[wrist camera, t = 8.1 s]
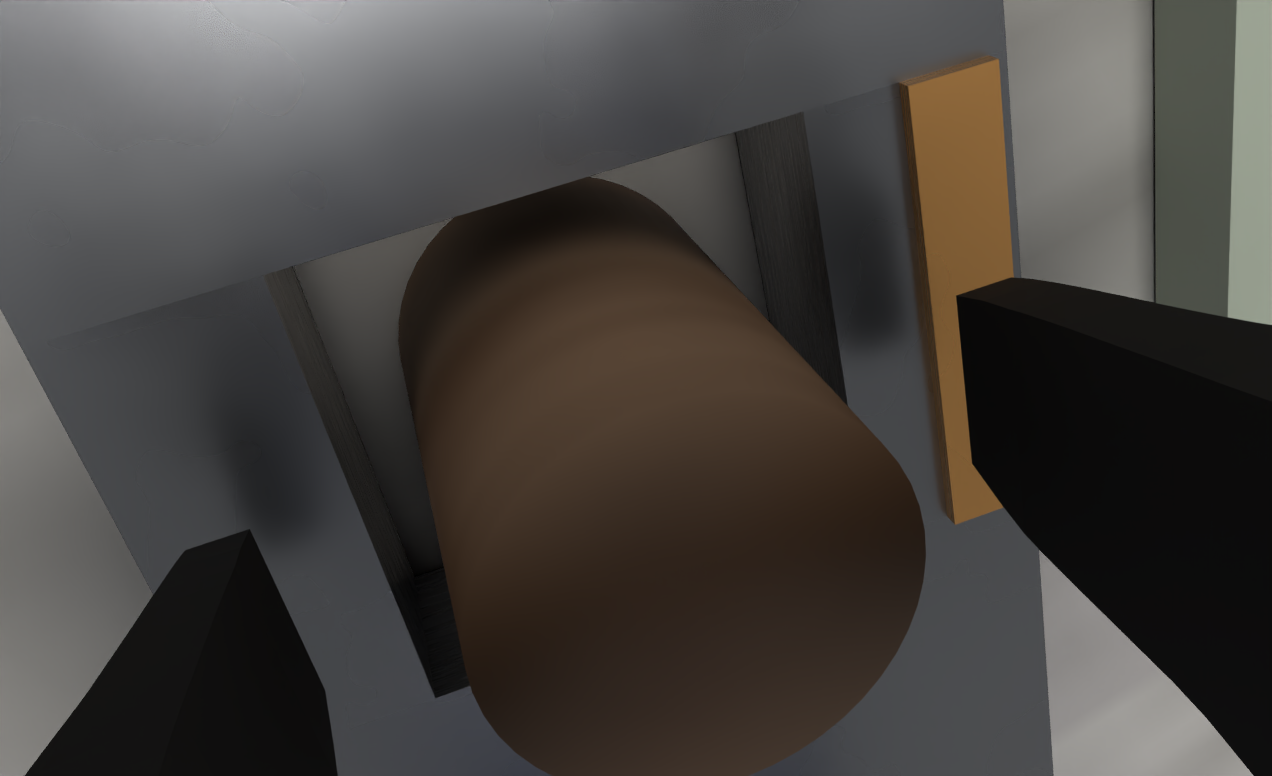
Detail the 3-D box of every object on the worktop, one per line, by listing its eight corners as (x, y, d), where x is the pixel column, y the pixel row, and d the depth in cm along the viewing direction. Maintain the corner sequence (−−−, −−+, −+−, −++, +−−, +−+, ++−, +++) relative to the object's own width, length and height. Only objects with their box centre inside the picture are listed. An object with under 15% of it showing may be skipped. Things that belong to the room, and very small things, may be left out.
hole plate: (972, 711, 20) (1064, 832, 18) (397, 930, 19) (413, 1091, 16) (826, -646, 11) (968, -761, 9) (-264, -409, 10) (-432, -475, 8)
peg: (734, 413, 16) (946, 701, 11) (453, 508, 16) (535, 855, 11) (675, 134, 14) (898, 324, 9) (352, 232, 14) (393, 491, 9)
